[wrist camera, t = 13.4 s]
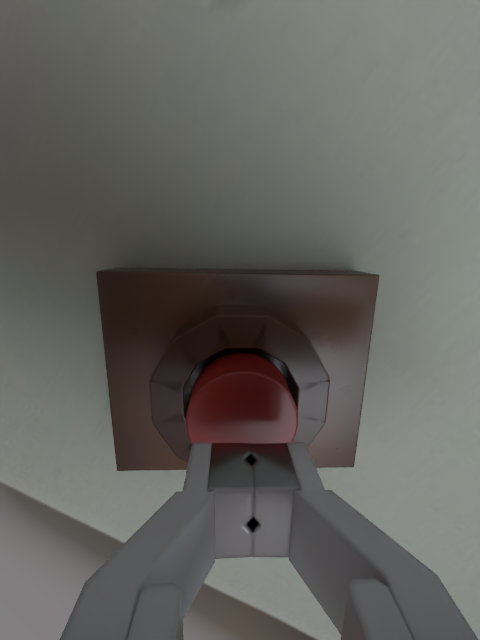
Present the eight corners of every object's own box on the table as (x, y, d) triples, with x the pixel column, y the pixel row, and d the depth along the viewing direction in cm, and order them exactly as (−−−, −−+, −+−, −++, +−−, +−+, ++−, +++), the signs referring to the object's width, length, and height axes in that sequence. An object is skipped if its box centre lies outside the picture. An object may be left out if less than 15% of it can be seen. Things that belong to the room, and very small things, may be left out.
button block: (132, 439, 15) (99, 506, 11) (117, 267, 13) (69, 275, 9) (337, 437, 16) (373, 500, 12) (355, 270, 13) (407, 279, 9)
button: (193, 438, 11) (186, 473, 9) (191, 351, 10) (183, 372, 9) (285, 437, 11) (295, 471, 10) (290, 351, 10) (302, 371, 9)
